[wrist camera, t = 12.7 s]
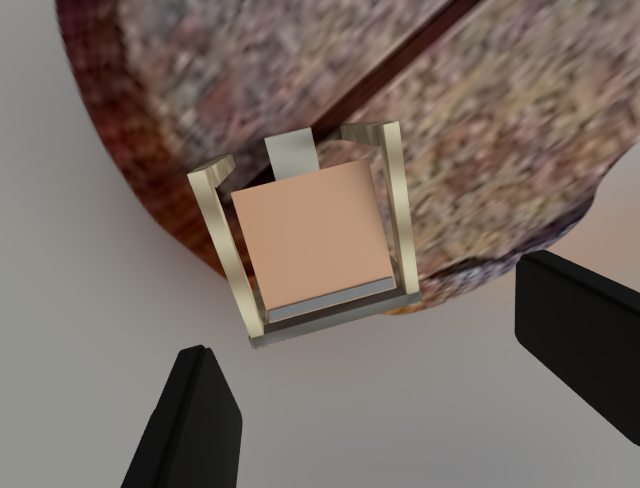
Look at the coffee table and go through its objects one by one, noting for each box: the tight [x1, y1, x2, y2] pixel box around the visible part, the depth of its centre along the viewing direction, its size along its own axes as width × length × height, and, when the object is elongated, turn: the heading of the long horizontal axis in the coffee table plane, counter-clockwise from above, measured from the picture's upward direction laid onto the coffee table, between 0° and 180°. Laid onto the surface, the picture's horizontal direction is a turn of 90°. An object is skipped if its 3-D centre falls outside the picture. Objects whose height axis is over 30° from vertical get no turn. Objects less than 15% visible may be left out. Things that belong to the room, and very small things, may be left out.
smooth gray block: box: [264, 128, 320, 181], centre depth 36 cm, size 5×5×6 cm
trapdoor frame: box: [187, 121, 422, 350], centre depth 33 cm, size 17×17×16 cm
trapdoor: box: [231, 158, 396, 323], centre depth 28 cm, size 12×12×1 cm
